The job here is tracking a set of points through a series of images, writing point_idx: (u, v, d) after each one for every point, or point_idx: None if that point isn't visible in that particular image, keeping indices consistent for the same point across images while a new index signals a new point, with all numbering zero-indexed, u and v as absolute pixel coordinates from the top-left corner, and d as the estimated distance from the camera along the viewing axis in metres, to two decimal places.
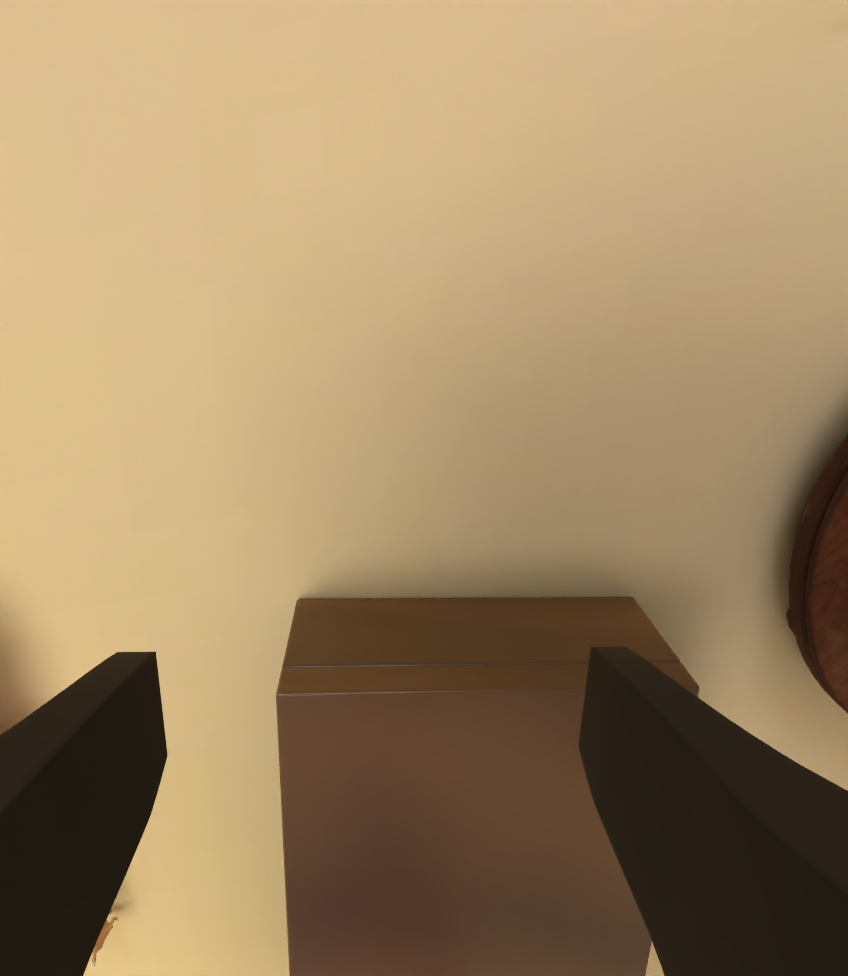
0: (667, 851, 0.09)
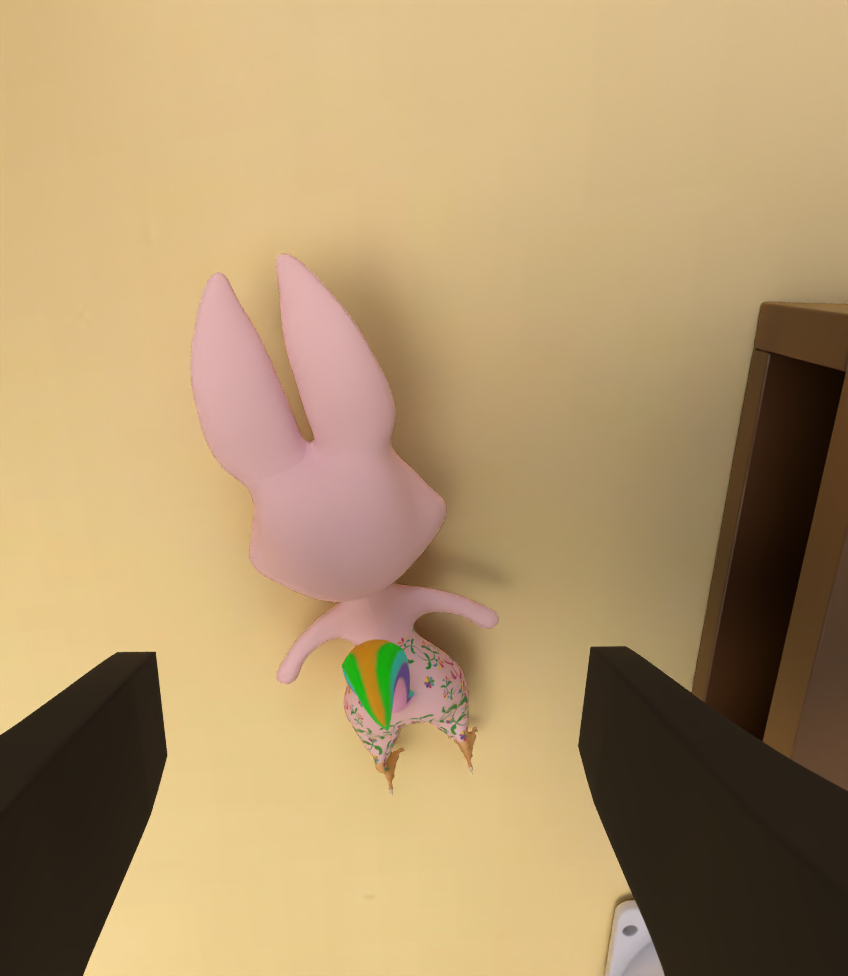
0: (667, 851, 0.09)
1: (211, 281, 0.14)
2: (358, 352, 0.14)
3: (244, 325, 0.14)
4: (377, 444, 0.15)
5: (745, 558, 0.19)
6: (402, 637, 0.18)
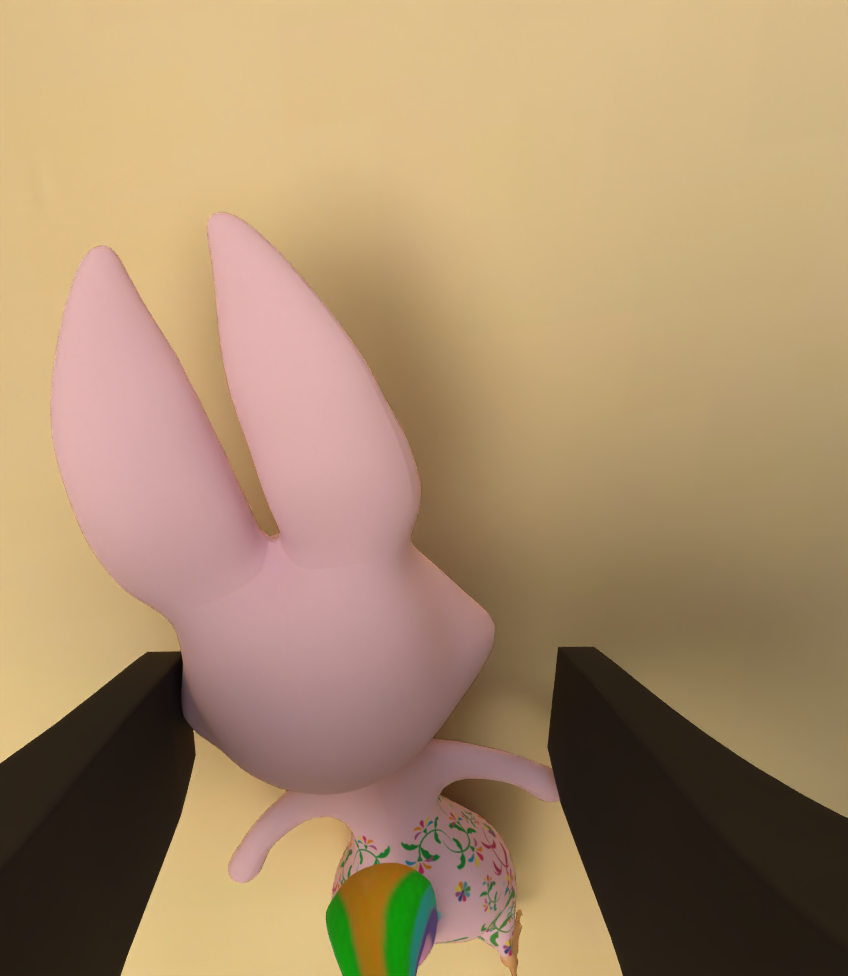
0: (625, 853, 0.09)
1: (87, 261, 0.08)
2: (357, 393, 0.08)
3: (149, 343, 0.08)
4: (389, 549, 0.09)
5: None
6: (421, 819, 0.12)
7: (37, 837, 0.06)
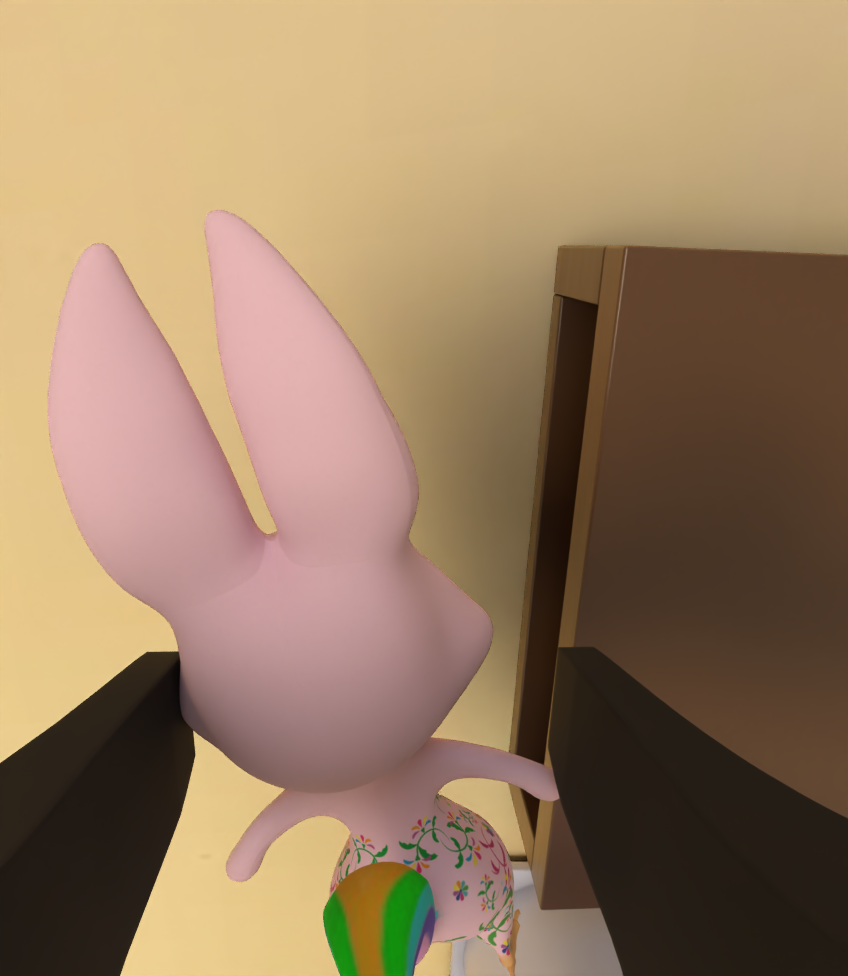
0: (626, 852, 0.09)
1: (84, 259, 0.08)
2: (353, 392, 0.08)
3: (146, 341, 0.08)
4: (386, 548, 0.09)
5: (555, 509, 0.19)
6: (419, 818, 0.12)
7: (37, 838, 0.06)
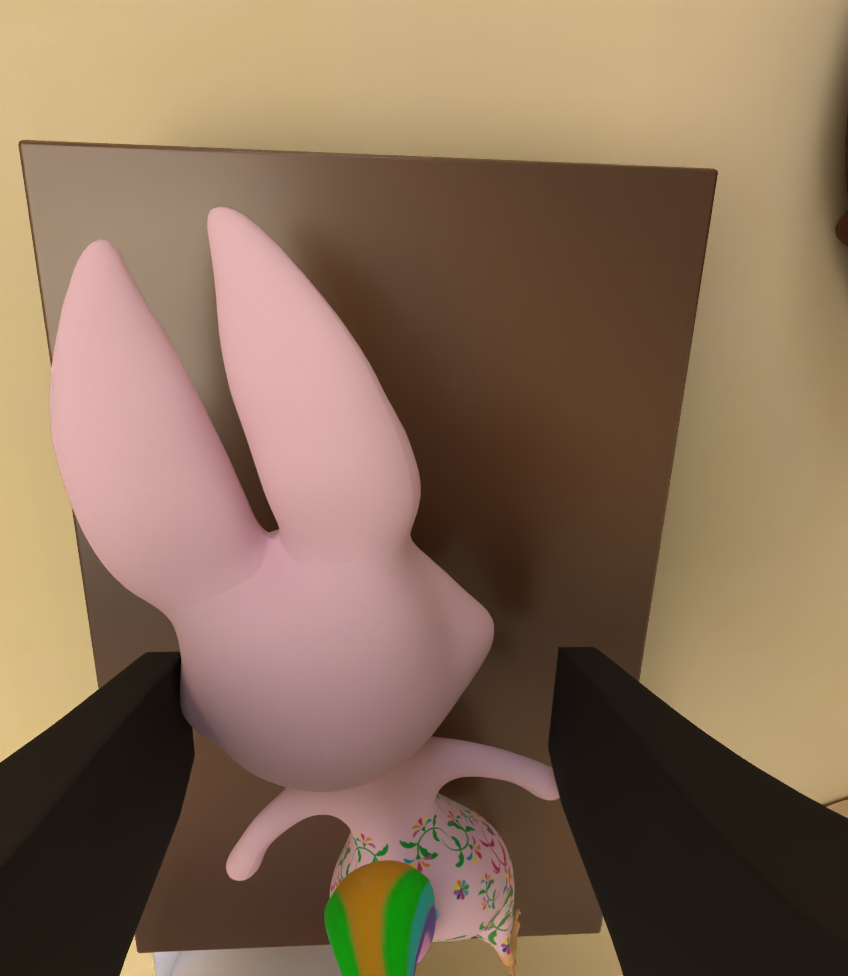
0: (626, 852, 0.09)
1: (86, 255, 0.08)
2: (357, 389, 0.08)
3: (149, 337, 0.08)
4: (388, 546, 0.09)
5: None
6: (420, 817, 0.12)
7: (36, 837, 0.06)
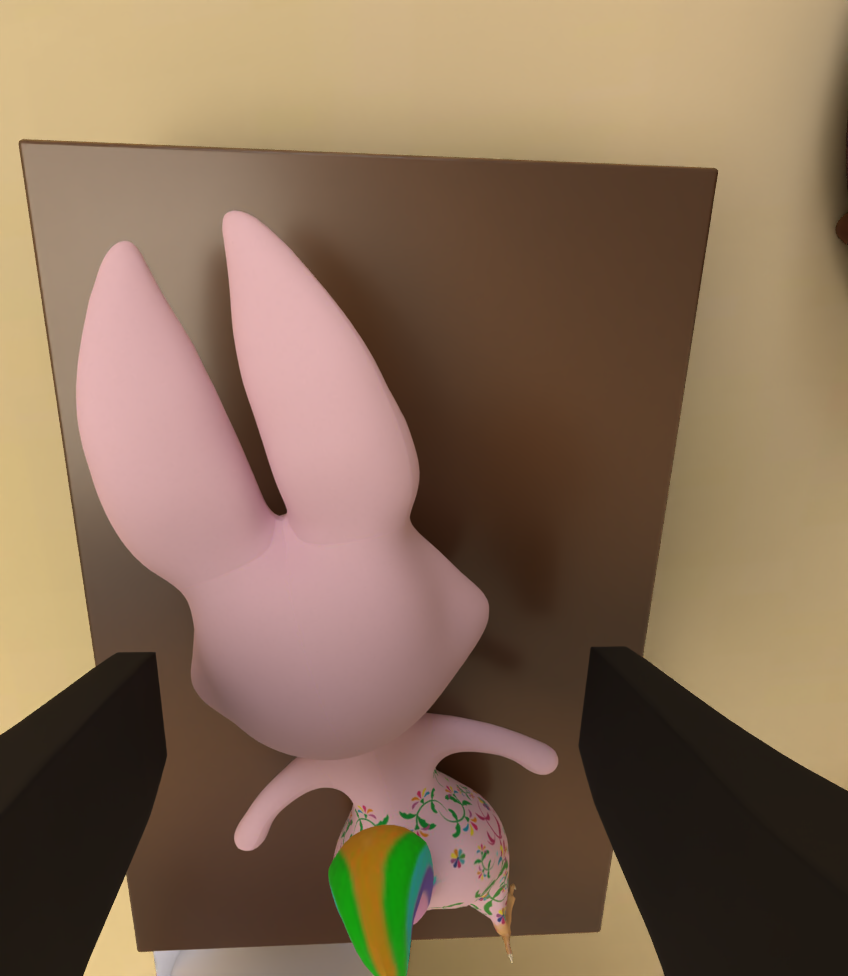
0: (667, 851, 0.09)
1: (111, 255, 0.08)
2: (360, 379, 0.08)
3: (168, 331, 0.08)
4: (389, 526, 0.09)
5: None
6: (418, 790, 0.12)
7: None
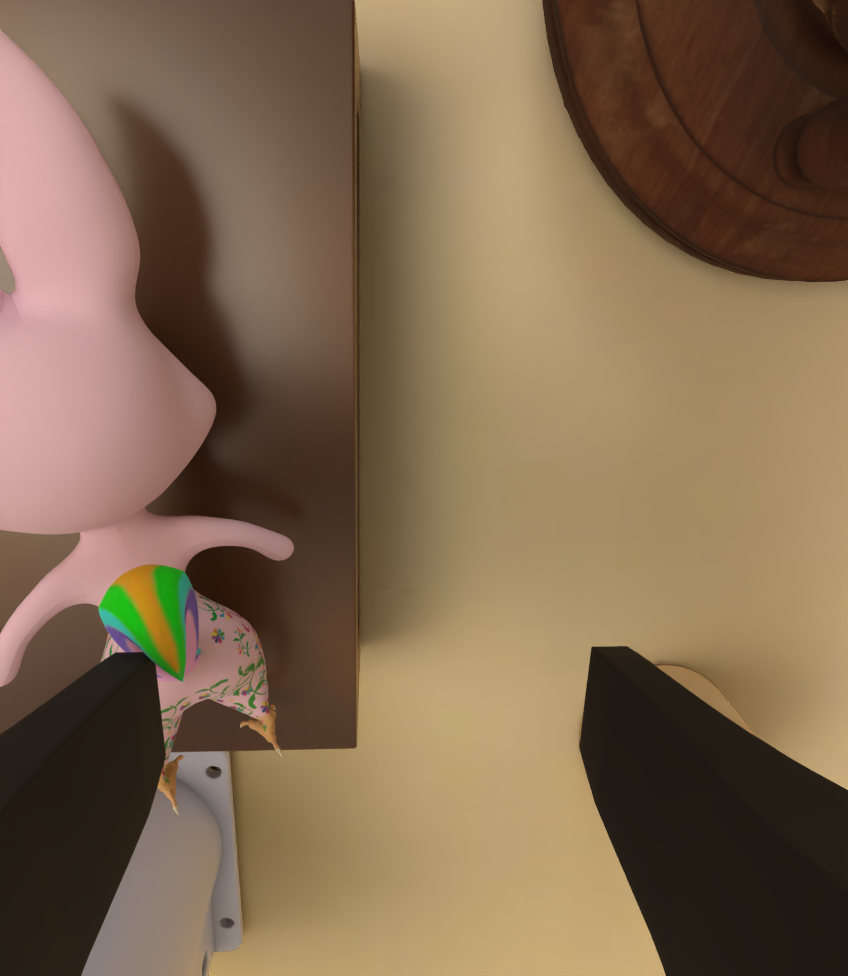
0: (668, 851, 0.09)
1: None
2: (78, 140, 0.10)
3: None
4: (118, 288, 0.11)
5: None
6: None
7: None
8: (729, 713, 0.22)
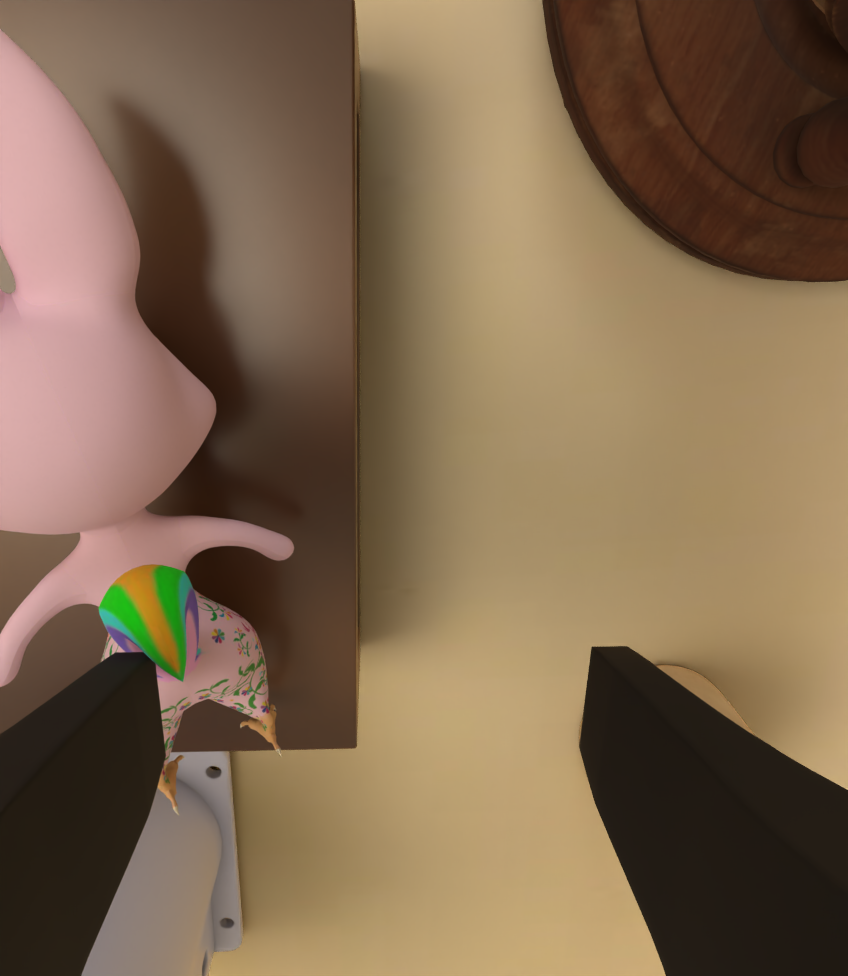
0: (668, 851, 0.09)
1: None
2: (78, 140, 0.10)
3: None
4: (118, 288, 0.11)
5: None
6: None
7: None
8: (729, 713, 0.22)
